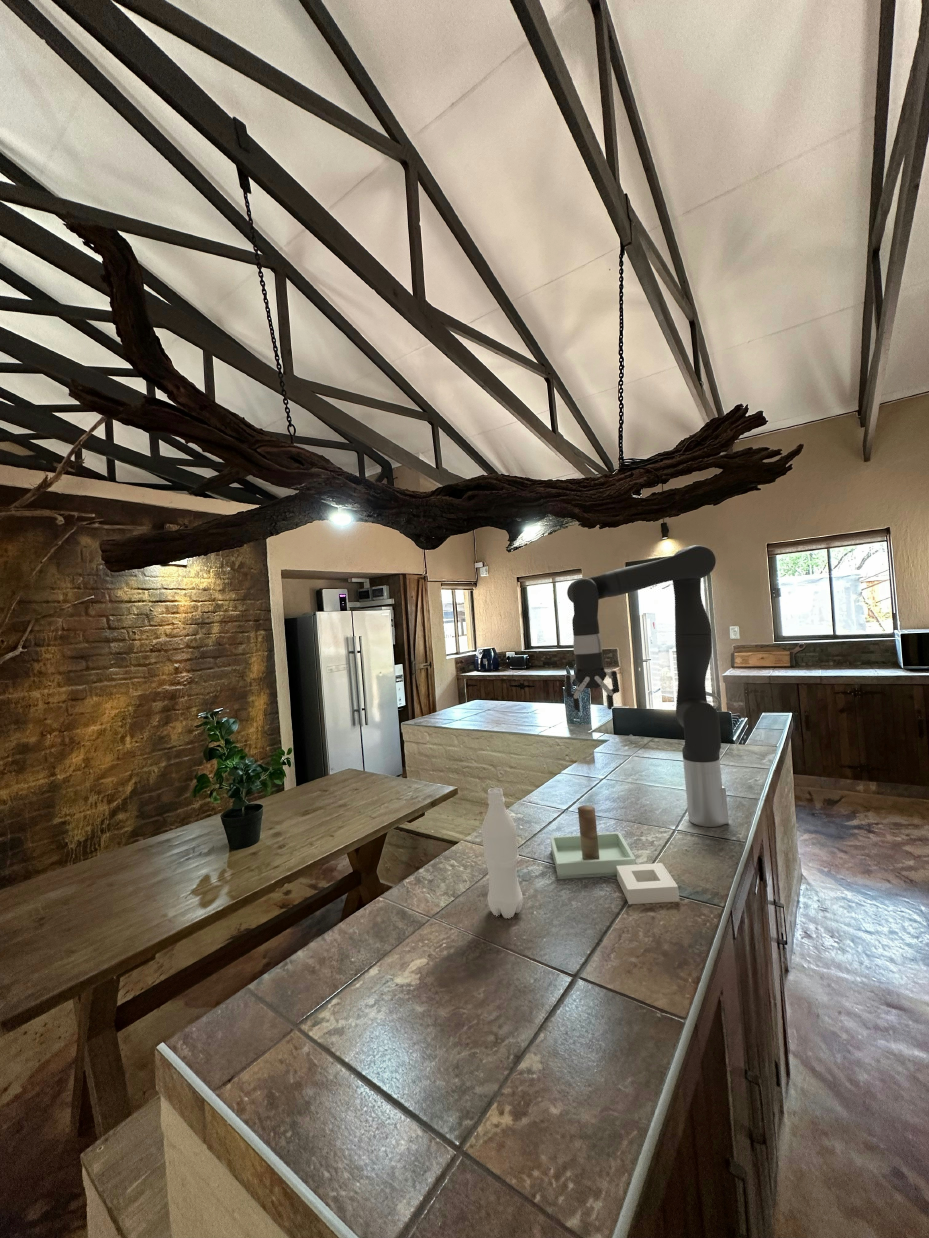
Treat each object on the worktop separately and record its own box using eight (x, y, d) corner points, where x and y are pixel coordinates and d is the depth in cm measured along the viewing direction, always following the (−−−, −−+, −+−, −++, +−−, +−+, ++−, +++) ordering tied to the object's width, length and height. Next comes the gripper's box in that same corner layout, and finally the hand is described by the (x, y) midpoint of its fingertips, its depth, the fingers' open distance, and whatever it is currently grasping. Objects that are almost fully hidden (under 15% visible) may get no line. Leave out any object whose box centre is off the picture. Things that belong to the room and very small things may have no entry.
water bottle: (483, 917, 103) (471, 794, 104) (497, 899, 110) (486, 783, 110) (515, 924, 100) (504, 797, 100) (528, 905, 106) (517, 785, 107)
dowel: (597, 853, 125) (593, 804, 125) (600, 861, 121) (596, 810, 121) (581, 854, 125) (576, 805, 125) (583, 862, 121) (579, 812, 121)
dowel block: (663, 876, 113) (661, 862, 113) (679, 901, 103) (678, 886, 103) (617, 879, 114) (616, 865, 114) (629, 904, 104) (627, 889, 104)
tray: (620, 845, 130) (619, 832, 130) (637, 874, 115) (635, 858, 115) (551, 850, 131) (550, 836, 131) (558, 879, 116) (557, 863, 116)
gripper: (563, 654, 136) (569, 715, 136) (617, 649, 136) (623, 710, 136) (560, 653, 144) (565, 710, 144) (611, 648, 143) (617, 705, 143)
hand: (594, 710), depth 140 cm, fingers open, 8 cm apart
